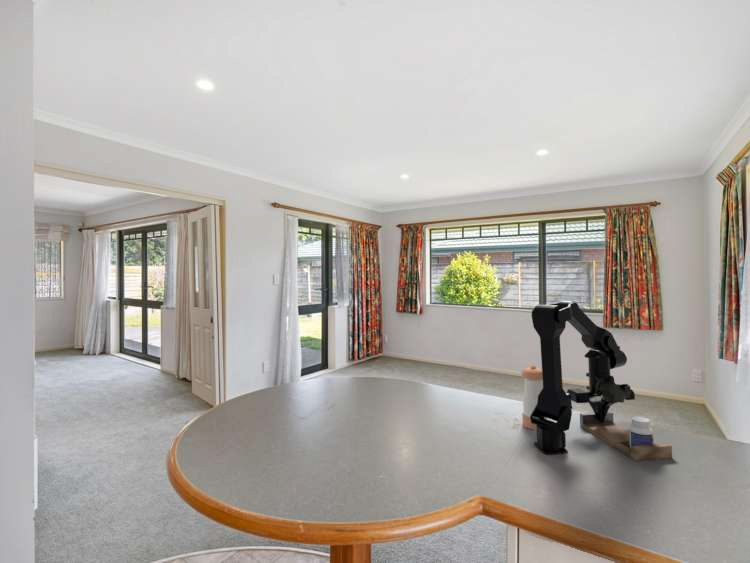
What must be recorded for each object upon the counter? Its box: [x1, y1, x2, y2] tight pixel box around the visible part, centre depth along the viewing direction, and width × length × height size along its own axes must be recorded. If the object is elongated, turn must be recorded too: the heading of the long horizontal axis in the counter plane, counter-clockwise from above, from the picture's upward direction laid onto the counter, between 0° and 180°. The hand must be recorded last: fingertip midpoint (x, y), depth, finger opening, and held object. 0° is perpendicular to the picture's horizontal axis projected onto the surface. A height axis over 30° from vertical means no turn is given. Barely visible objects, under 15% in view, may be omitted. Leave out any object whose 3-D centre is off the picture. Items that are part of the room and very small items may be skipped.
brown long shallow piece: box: [579, 410, 673, 461], centre depth 108 cm, size 10×22×4 cm, turn 5°
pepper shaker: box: [521, 364, 548, 430], centre depth 121 cm, size 7×7×19 cm
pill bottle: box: [628, 416, 654, 449], centre depth 101 cm, size 5×5×9 cm
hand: (601, 422), depth 117 cm, fingers closed, pressing on brown long shallow piece
